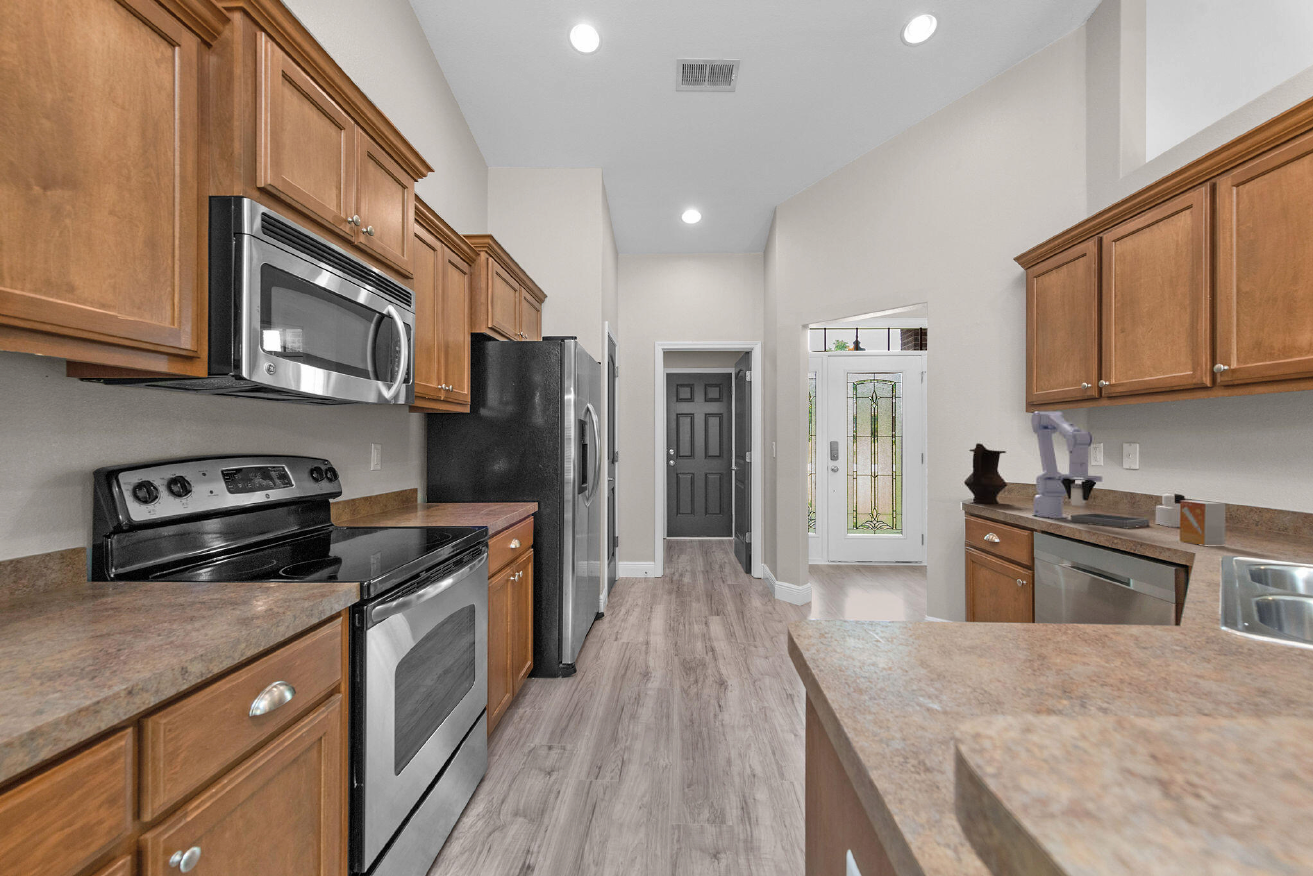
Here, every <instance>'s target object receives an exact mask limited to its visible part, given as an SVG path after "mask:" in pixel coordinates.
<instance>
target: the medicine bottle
mask: <svg viewBox="0 0 1313 876" xmlns="http://www.w3.org/2000/svg"><path fill="white" fill-rule="evenodd" d="M1185 497H1186V496H1185V495H1183V494H1180V493H1164V494H1163V495H1162V502H1161V503H1162V505H1155V525H1157V524H1160V525H1159V526H1162V525H1163V527H1167V526H1169V527H1168V528H1178V527H1180V501H1183V500H1186V498H1185Z"/></svg>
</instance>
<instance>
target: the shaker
mask: <svg viewBox="0 0 1313 876" xmlns="http://www.w3.org/2000/svg"><path fill="white" fill-rule="evenodd" d="M1086 501H1087V500H1083V487H1082V483H1077V482H1075V483H1071V499H1070V506H1077V507H1086Z"/></svg>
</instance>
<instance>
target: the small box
mask: <svg viewBox="0 0 1313 876" xmlns="http://www.w3.org/2000/svg"><path fill="white" fill-rule="evenodd" d="M1179 542H1183V543H1188V542H1189V543H1188V544H1192V543H1193V545H1197V544H1202V545H1223V544H1225V545H1226V503H1222V502H1215V501H1214V502H1213V501H1205V500H1186V499H1185V500H1183V501H1180V528H1179Z"/></svg>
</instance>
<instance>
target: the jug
mask: <svg viewBox="0 0 1313 876" xmlns="http://www.w3.org/2000/svg"><path fill="white" fill-rule="evenodd" d="M969 452H973V455H972V472H971V473H970V475H969V476H968V477H967V478H966V479H965V480H964V482H963V483H964V485H965V486H966V487H967V488H968V490H969V491H970V492H971V494H972V495H973V499H972V502H974V503H979V504H989V505H997V504H999V502H1000V501H998V499H997V498H998V496H999V494H1000V493H1001V492H1002V491H1003V490H1004V489H1006V487H1007V486H1008V484H1007V482H1006V481H1005V479H1004V478H1003V477H1002V476H1001V474H1000V473H999V469H998V468H999V462H1000V457H1001V454H1006V453H1007V451H1006V450H995V449H994V450H993V449H987V448H986V447H985V446H984V445H983V443H980V442H978V443H976V444H975V447H974V448H972V449H969Z"/></svg>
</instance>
